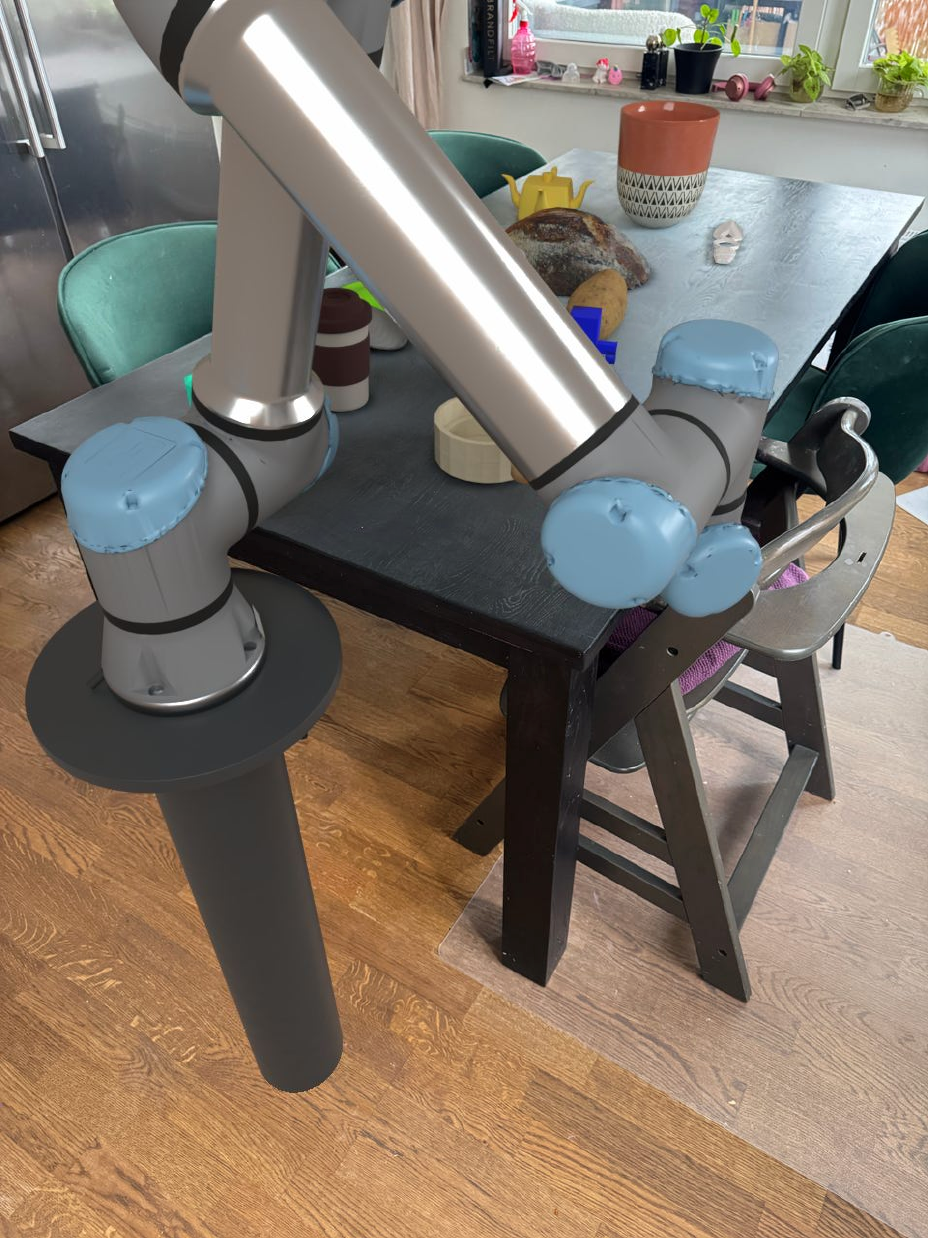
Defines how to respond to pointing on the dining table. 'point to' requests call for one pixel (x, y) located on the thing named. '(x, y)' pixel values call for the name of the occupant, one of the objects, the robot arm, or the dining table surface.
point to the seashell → (385, 332)
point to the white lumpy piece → (723, 252)
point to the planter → (664, 159)
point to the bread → (576, 248)
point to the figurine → (594, 329)
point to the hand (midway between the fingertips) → (516, 357)
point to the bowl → (467, 446)
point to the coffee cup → (343, 348)
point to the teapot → (545, 193)
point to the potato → (603, 299)
